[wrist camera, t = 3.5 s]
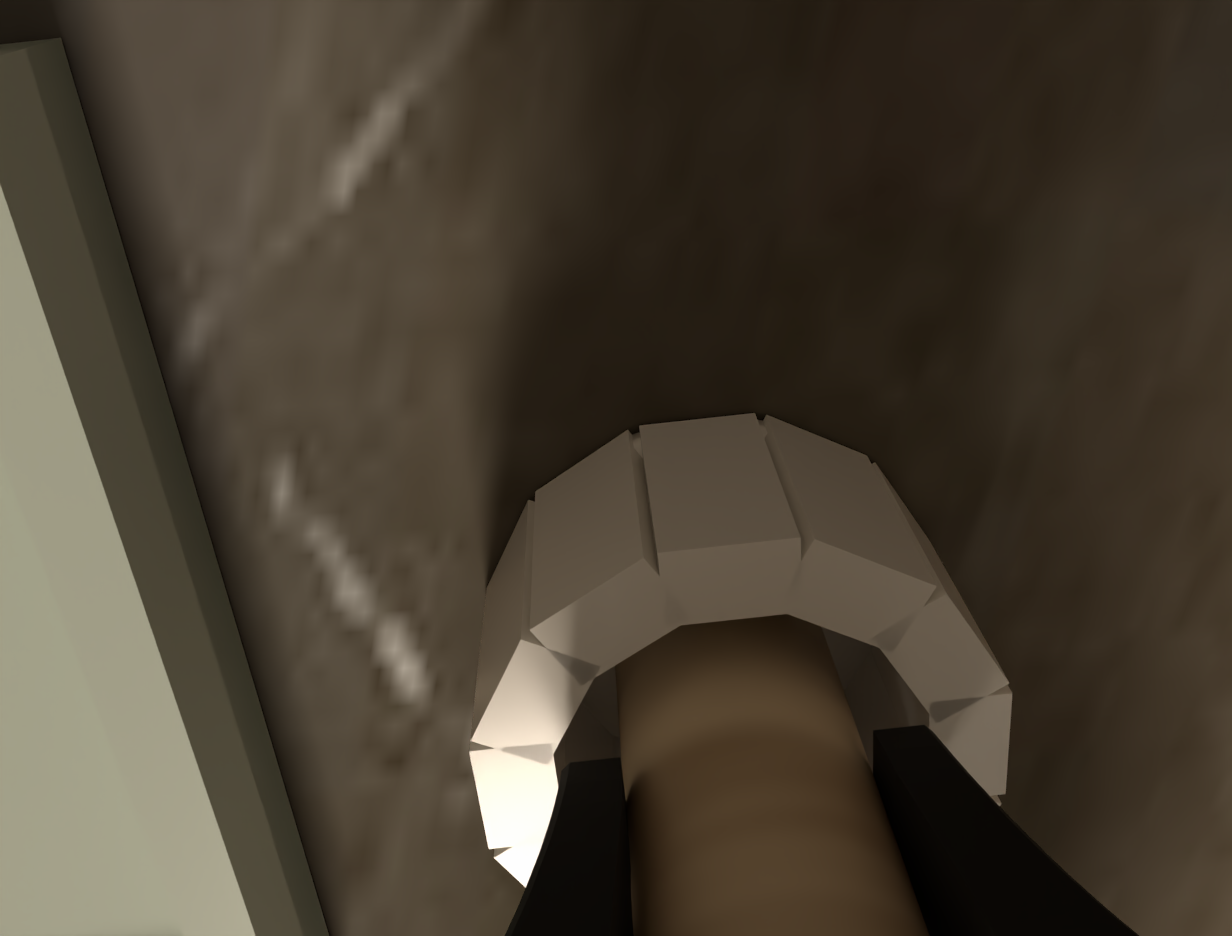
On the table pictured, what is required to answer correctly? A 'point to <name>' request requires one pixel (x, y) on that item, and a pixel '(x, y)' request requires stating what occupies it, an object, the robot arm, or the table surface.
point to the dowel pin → (753, 790)
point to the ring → (714, 603)
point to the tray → (113, 590)
